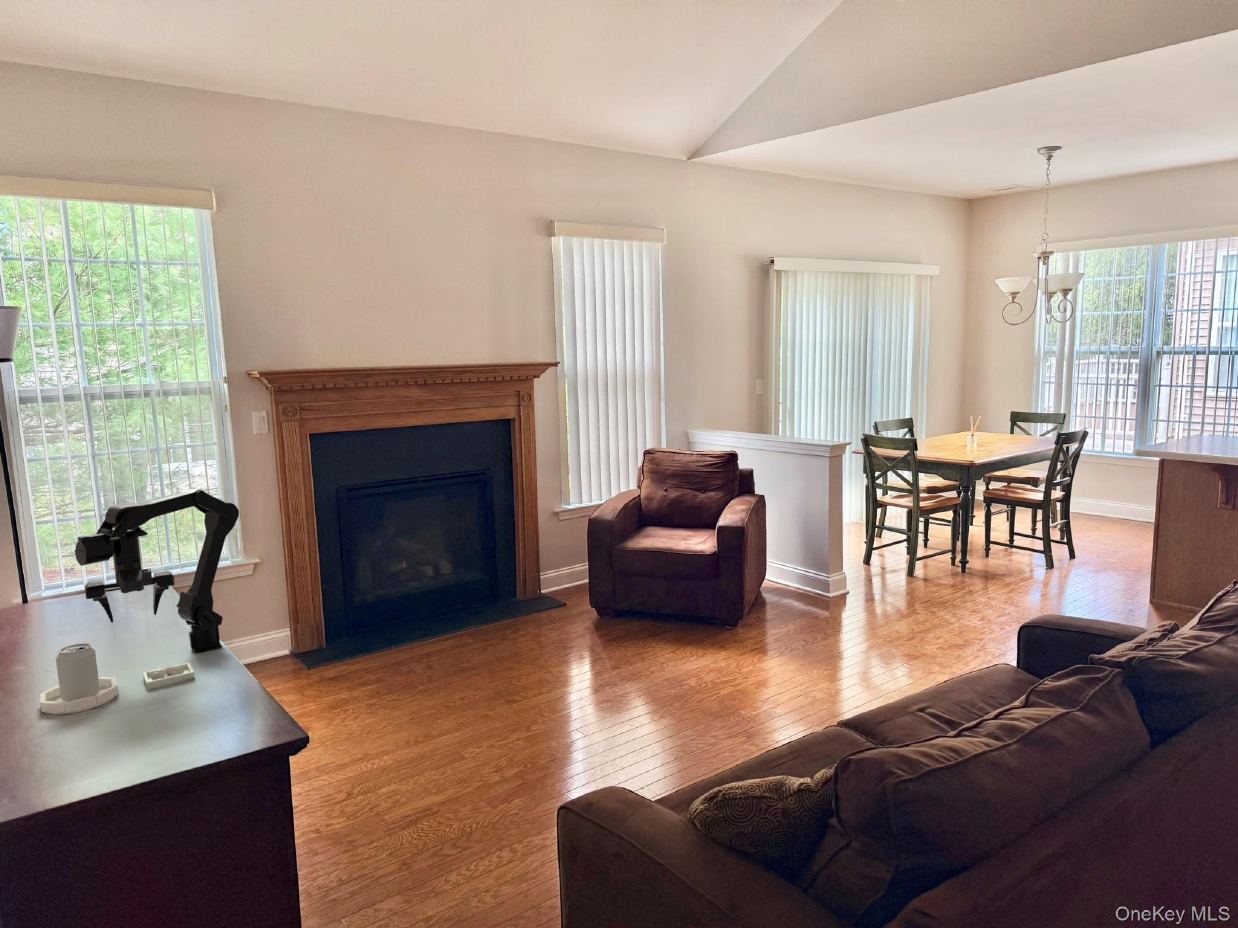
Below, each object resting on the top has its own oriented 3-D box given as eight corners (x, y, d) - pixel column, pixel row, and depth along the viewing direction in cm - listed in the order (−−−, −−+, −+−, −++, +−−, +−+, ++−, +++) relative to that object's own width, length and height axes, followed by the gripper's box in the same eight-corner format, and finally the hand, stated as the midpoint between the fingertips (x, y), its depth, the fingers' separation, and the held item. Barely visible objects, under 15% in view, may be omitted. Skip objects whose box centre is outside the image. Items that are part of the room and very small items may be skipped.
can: (93, 701, 187) (87, 650, 186) (55, 706, 185) (49, 654, 184) (105, 689, 194) (99, 639, 193) (68, 693, 193) (62, 643, 191)
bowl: (115, 682, 200) (114, 672, 200) (120, 702, 188) (118, 691, 188) (41, 698, 192) (40, 687, 191) (41, 720, 180) (40, 709, 179)
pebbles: (182, 670, 205) (181, 660, 204) (185, 676, 200) (184, 667, 200) (150, 677, 201) (148, 667, 200) (152, 684, 196) (151, 674, 196)
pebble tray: (189, 669, 207) (189, 662, 206) (194, 679, 200) (193, 671, 200) (143, 679, 201) (142, 672, 201) (147, 689, 195) (146, 682, 194)
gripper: (83, 569, 193) (91, 634, 195) (174, 556, 203) (180, 618, 205) (81, 560, 202) (88, 623, 204) (168, 548, 212) (174, 608, 214)
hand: (133, 618), depth 207 cm, fingers open, 9 cm apart
